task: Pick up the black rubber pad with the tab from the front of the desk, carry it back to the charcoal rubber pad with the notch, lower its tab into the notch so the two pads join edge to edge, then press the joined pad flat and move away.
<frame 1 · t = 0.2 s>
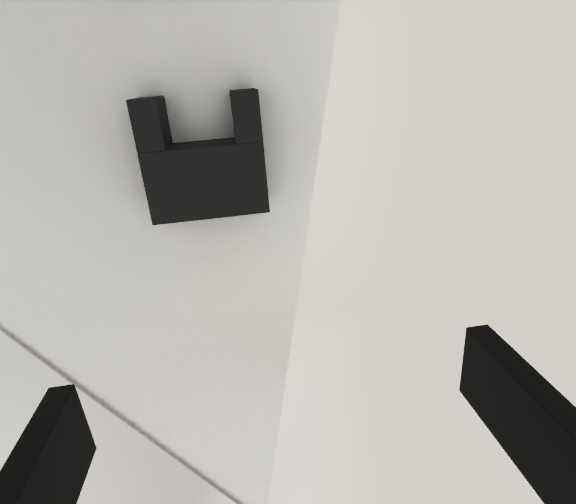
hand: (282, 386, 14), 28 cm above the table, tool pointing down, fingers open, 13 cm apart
notch pad: (205, 151, 38), on the table
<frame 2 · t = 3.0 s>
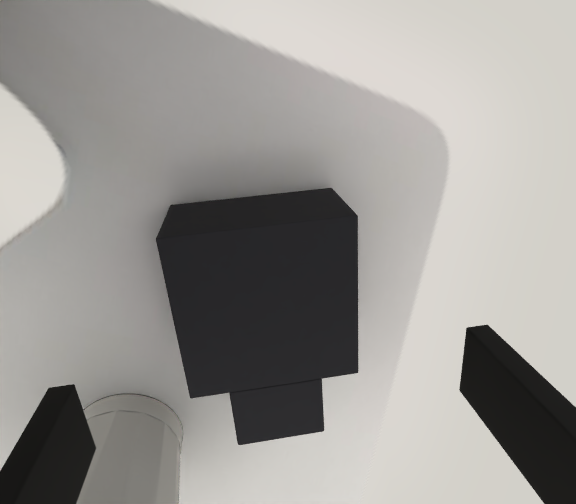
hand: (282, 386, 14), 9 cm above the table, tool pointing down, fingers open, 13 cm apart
cup: (130, 432, 25), on the table
tab pad: (260, 269, 22), on the table
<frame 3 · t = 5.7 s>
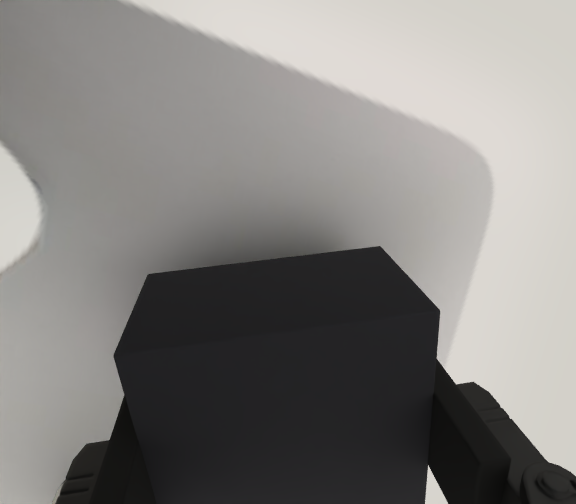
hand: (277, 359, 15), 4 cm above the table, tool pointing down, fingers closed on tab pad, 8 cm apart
tab pad: (276, 355, 16), point 3 cm above the table, touching gripper
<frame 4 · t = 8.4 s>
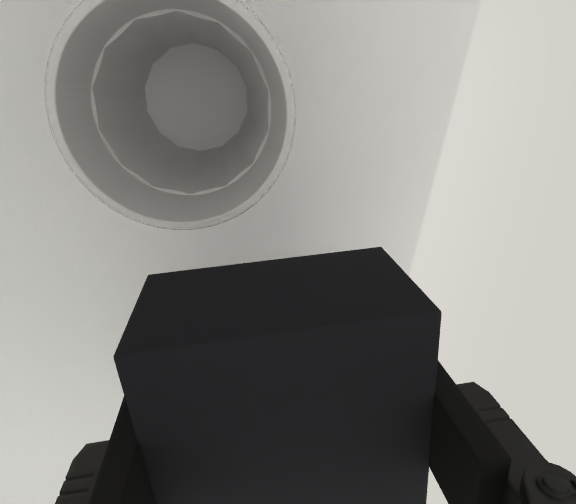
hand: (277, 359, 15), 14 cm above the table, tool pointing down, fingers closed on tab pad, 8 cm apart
cup: (199, 98, 25), on the table
tab pad: (277, 356, 16), point 14 cm above the table, touching gripper
when the fingers open (0 cm above the table, at t = 11.2 s): tab pad stays where it is, on the table.
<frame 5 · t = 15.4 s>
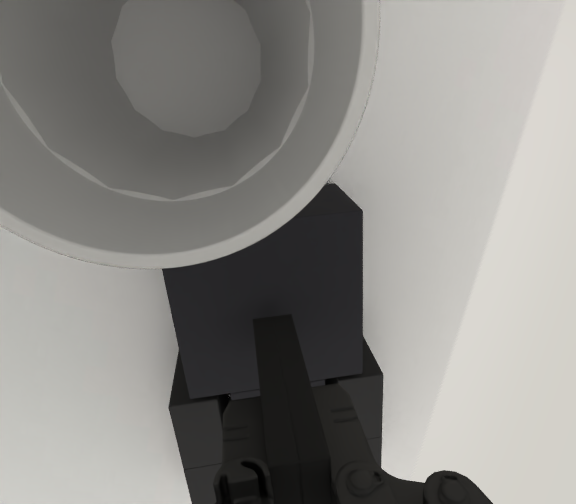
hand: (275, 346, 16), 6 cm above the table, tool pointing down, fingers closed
notch pad: (276, 403, 25), on the table
cup: (192, 63, 17), on the table
tab pad: (262, 266, 21), on the table
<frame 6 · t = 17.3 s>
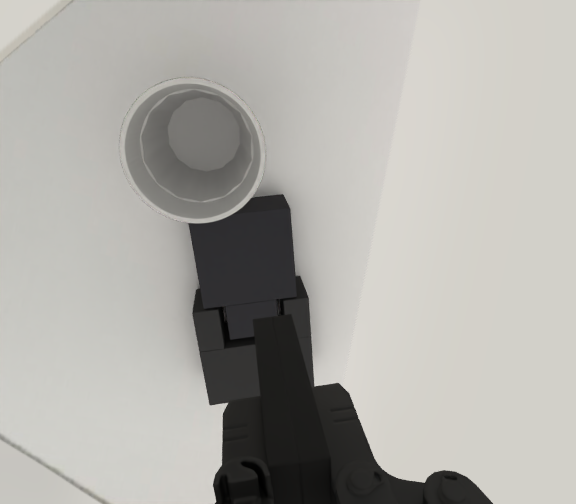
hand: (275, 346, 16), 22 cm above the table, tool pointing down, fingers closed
notch pad: (254, 327, 41), on the table
cup: (205, 133, 34), on the table
tab pad: (243, 241, 38), on the table
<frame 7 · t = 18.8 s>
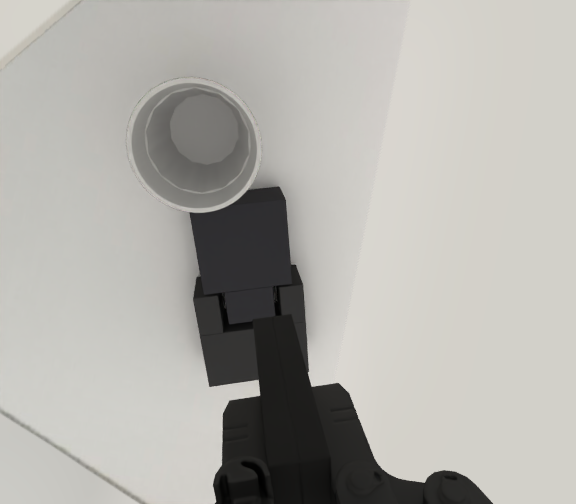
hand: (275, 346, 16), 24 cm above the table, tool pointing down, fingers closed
notch pad: (252, 313, 43), on the table
cup: (205, 128, 36), on the table
tab pad: (241, 231, 40), on the table
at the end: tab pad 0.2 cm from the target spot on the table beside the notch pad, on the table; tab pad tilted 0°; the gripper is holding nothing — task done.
